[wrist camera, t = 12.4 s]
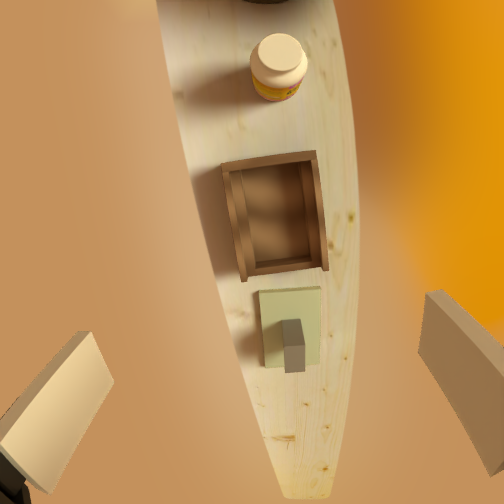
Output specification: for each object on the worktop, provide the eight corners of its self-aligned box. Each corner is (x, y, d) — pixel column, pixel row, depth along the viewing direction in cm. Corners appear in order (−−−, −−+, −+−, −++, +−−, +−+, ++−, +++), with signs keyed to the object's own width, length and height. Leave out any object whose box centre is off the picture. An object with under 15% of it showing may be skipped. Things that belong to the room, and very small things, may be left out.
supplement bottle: (287, 110, 39) (295, 90, 27) (245, 90, 39) (236, 64, 26) (306, 72, 37) (321, 41, 25) (265, 54, 37) (264, 17, 24)
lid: (259, 289, 48) (257, 317, 39) (319, 285, 47) (330, 312, 39) (265, 362, 52) (264, 396, 44) (318, 359, 52) (325, 392, 43)
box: (226, 162, 42) (220, 163, 36) (309, 151, 41) (315, 150, 35) (244, 267, 47) (241, 282, 41) (321, 257, 45) (329, 270, 40)
